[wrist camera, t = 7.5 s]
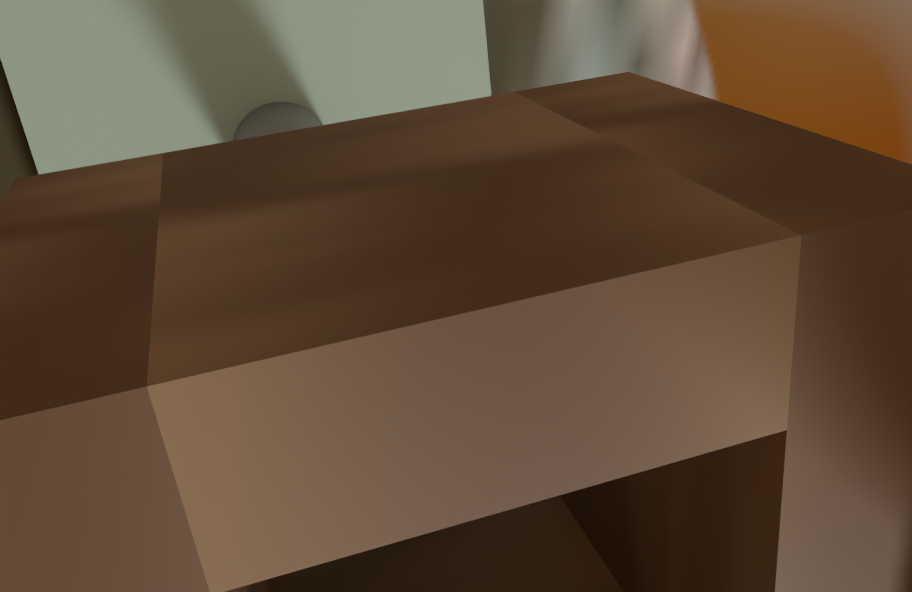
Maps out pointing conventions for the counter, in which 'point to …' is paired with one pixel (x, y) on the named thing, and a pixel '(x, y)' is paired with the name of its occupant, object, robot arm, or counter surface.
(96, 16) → the pale green stand
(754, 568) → the walnut bead
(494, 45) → the counter surface
